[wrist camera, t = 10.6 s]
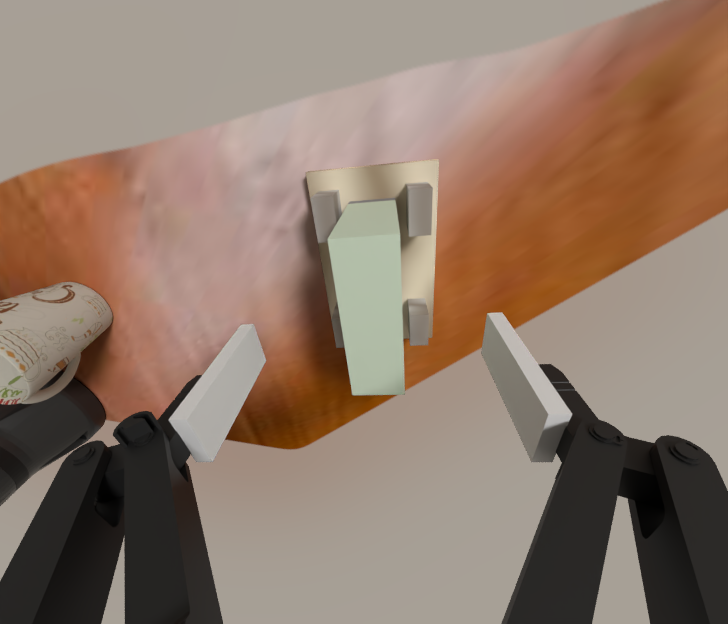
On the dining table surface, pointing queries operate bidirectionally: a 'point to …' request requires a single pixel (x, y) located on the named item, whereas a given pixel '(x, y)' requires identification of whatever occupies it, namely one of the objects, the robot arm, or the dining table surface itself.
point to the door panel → (370, 295)
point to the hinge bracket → (416, 223)
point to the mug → (46, 338)
